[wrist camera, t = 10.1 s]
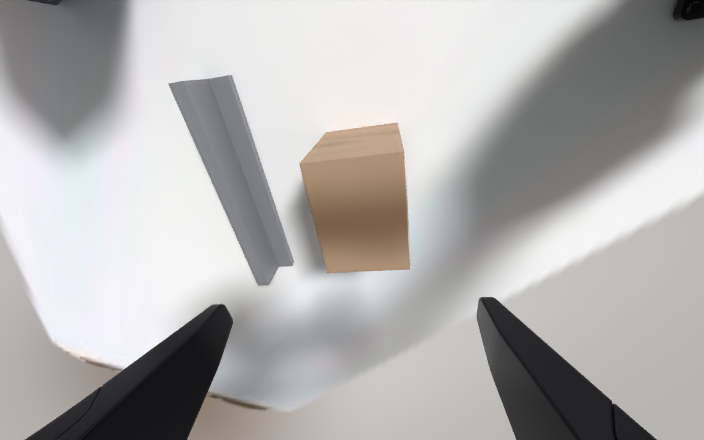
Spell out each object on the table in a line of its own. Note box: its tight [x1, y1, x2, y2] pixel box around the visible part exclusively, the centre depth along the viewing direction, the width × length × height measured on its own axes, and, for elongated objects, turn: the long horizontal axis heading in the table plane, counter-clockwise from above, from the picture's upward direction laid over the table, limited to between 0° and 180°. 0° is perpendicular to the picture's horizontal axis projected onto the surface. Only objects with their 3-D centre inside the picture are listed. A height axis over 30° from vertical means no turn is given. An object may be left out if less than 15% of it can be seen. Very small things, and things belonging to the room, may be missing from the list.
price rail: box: [169, 75, 294, 285], centre depth 20 cm, size 16×3×3 cm, turn 8°
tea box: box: [300, 123, 410, 273], centre depth 17 cm, size 7×5×7 cm
